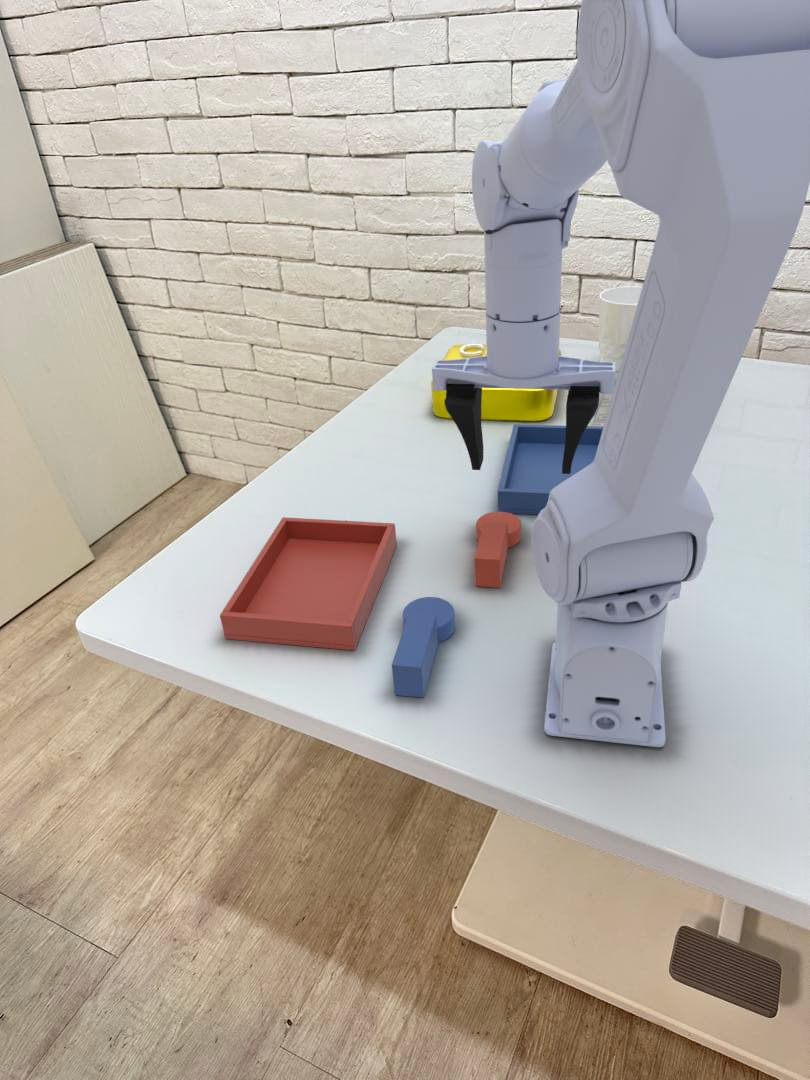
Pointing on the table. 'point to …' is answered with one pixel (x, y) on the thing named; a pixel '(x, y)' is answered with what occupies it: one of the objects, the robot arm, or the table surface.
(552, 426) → the blue tray
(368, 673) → the table surface
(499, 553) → the red spoon
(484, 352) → the element tile
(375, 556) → the red tray
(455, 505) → the table surface
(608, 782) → the table surface
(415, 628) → the blue spoon
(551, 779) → the table surface
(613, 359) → the white cup
